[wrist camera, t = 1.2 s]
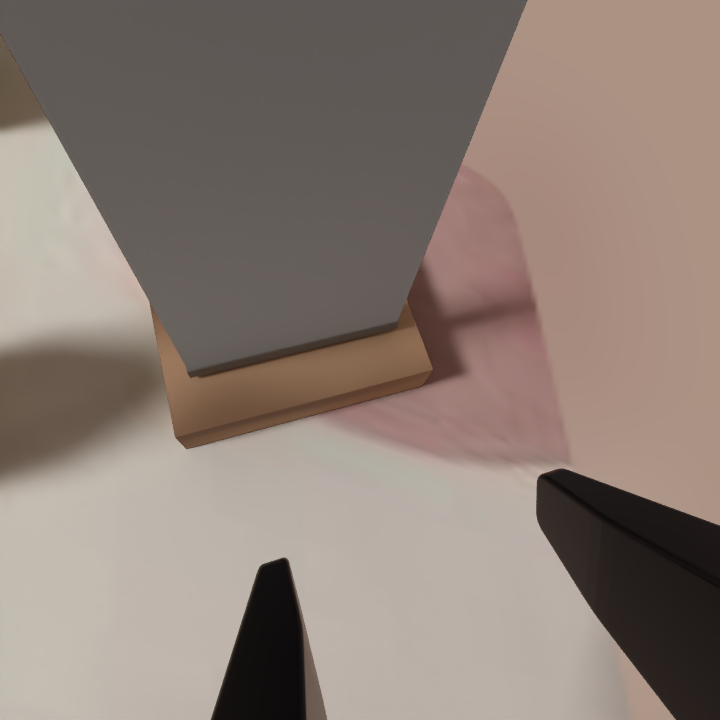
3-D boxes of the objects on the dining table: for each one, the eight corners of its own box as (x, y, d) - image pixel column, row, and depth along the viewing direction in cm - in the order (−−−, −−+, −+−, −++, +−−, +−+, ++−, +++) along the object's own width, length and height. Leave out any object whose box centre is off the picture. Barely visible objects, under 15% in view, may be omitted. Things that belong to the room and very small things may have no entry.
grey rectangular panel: (395, 329, 21) (555, -55, 8) (190, 378, 19) (-28, -6, 6) (387, 306, 21) (526, -99, 8) (185, 352, 20) (-33, -65, 7)
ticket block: (422, 385, 23) (433, 369, 21) (186, 449, 20) (175, 437, 19) (354, 200, 26) (359, 171, 24) (145, 238, 24) (132, 210, 22)
